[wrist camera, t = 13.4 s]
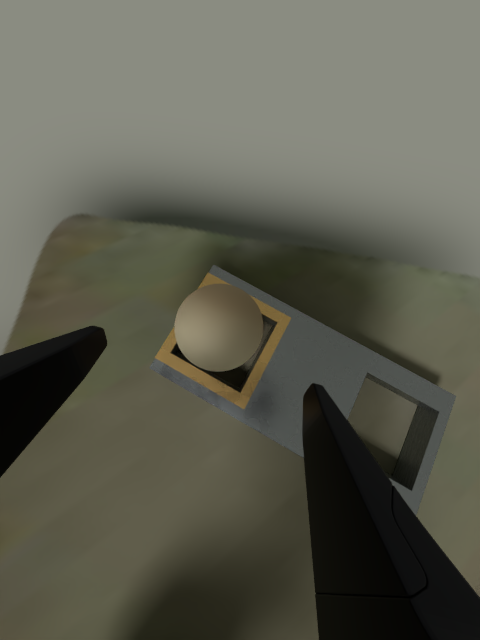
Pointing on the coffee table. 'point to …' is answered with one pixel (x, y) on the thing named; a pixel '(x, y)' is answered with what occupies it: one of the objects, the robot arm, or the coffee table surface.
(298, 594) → the coffee table surface
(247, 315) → the peg
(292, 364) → the board with square holes
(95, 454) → the coffee table surface
